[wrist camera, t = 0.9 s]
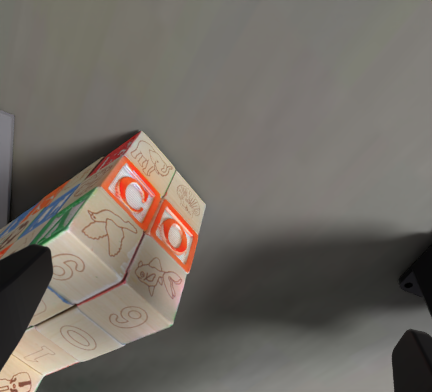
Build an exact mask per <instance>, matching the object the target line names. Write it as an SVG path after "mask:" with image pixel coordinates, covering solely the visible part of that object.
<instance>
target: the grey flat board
mask: <svg viewBox="0 0 432 392" xmlns="http://www.w3.org/2000/svg"><path fill="white" fill-rule="evenodd" d="M13 136H14V115H12V114H10V113H7V112H4V111H2V110H0V229H2V228H3V227H5V226H6V225H7V224H9V218H10V197H11V177H12V156H13Z"/></svg>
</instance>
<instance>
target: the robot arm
mask: <svg viewBox="0 0 432 392" xmlns="http://www.w3.org/2000/svg"><path fill="white" fill-rule="evenodd" d="M52 276H53V263H52V255H51V250H50V248H49V247H47V246H42V245H38V244H31V245H29V246H27V247H25V248H23V249H21V250H19V251H17V252H15V253H13V254H11V255H9V256H7V257H5V258H3V259H1V260H0V372H1V370H2V368H3V367H4V365H5V364H6V362H7V361H8V359H9V357H10V356H11V354H12V353H13V351H14V350H15V348H16V346H17V345H18V343H19V342H20V340H21V338H22V337H23V335H24V333H25V331H26V329H27V328H28V326H29V324H30V322H31V320H32V318H33V316H34V314H35V312H36V310H37V308H38V306H39V304H40V302H41V299H42V297H43V295H44V293H45V291H46V289H47V287H48V285H49V283H50V281H51V279H52ZM408 282H410V283H408ZM406 283H407V284H406ZM399 285H400V287H401V289H403V290H404V291H407V292H410V293H412V294H415V295H417V296H420V297H423V298H424V300H425V303H426V305H427V308H428V310H429V312H430V315H431V317H432V245H431V246H430V247H429V248H428V249H427V250H426V251H425V252H424V253H423V254H422V256H421V257H420V258H419V259H418V260H417V261H416V262H415V263H414V264H413V265H412V266H411V267H410V268H409V269H408V270H407V271H406V272H405V273H404V274H403V275H402V276H401V277H400V279H399ZM392 367H393V380H394V392H432V337H431V336H430V335H429V334H427V333H425V332H422V331H417V330H413V329H409V330H407V331H406V332H405V333H404V335H403V336H402V338H401V339H400V340H399V342H398V343H397V345H396V346H395V348H394V350H393V353H392Z"/></svg>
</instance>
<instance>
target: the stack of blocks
mask: <svg viewBox="0 0 432 392" xmlns="http://www.w3.org/2000/svg"><path fill="white" fill-rule="evenodd" d="M205 207H206V205H205V203H204V202H203V201H202V200H201V199H200V197H199V196H198V195H197V194H196V193H195V191H194V190H193V189H192V188H191V187H190V186H189V184H188V183H187V182H186V181H185V180H184V179H183V177H182V176H181V175H180V174H179V173H178V172H177V171H176V170H175V167H174V166H173V165H172V164H171V163H170V161H169V160H168V159H167V158H166V157H165V155H164V154H163V153H162V152H161V151H160V150H159V149H158V148H157V146H156V145H155V144H154V143H153V142H152V141H151V140H150V138H149V137H148V136H147V135H146V134H145V133H144V132H143V131H140V132H138V133H137V134H136V135H134V136H133V137H132V138H130V139H129V140H128V141H126V142H125V143H123V144H122V145H121V146H119V147H118V148H117V149H115V150H114V151H112V152H111V153H109V154H108V155H107V156H106V157H101V158H100V159H98V160H97V161H95V162H94V163H93V164H91V165H90V166H88V167H87V168H85V169H84V170H83V171H81V172H80V173H78V174H77V175H76V176H74V177H73V178H72V179H70V180H68V181H67V182H65V183H64V184H62V185H61V186H60V187H58V188H57V189H55V190H54V191H52V192H51V193H50V194H48V195H47V196H45V197H44V198H43V199H42V200H41V201H40V202H39V203H37V204H36V205H34V206H33V207H31V208H30V209H29V210H27V211H26V212H24V213H23V214H21V215H20V216H18V217H17V218H16V219H15V220H13V221H12V222H10V223H9V224H7V225H6V226H5V227H3V228H2V229H0V260H1V259H3V258H5V257H7V256H9V255H11V254H13V253H15V252H17V251H19V250H21V249H23V248H25V247H27V246H29V245H31V244H38V245H42V246H47V247H49V248H50V250H51V255H52V263H53V276H52V279H51V281H50V283H49V285H48V287H47V289H46V291H45V293H44V295H43V297H42V299H41V302H40V304H39V306H38V308H37V310H36V312H35V314H34V316H33V318H32V320H31V322H30V324H29V326H28V328H27V329H26V331H25V333H24V335H23V337H22V338H21V340H20V342H19V343H18V345H17V346H16V348H15V350H14V351H13V353H12V354H11V356H10V357H9V359H8V361H7V362H6V364H5V365H4V367H3V368H2V370H1V372H0V392H36V390H37V388H38V386H39V384H40V383H41V381H42V379H43V377H44V376H46V375H49V374H51V373H54V372H56V371H58V370H61V369H63V368H66V367H68V366H71V365H73V364H76V363H78V362H84V361H87V360H90V359H92V358H95V357H97V356H100V355H103V354H105V353H108V352H110V351H113V350H116V349H118V348H121V347H123V346H125V344H127V343H130V342H132V341H135V340H138V339H140V338H142V337H145V336H148V335H151V334H154V333H155V332H157V331H161V330H163V329H166V328H169V327H171V326H172V325H173V323H174V319H175V316H176V313H177V310H178V306H179V302H180V298H181V294H182V291H183V288H184V284H185V279H186V274H188V273H189V272H190V269H191V265H192V261H193V257H194V254H195V249H196V245H197V241H198V234H199V232H200V228H201V223H202V220H203V215H204V211H205Z"/></svg>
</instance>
